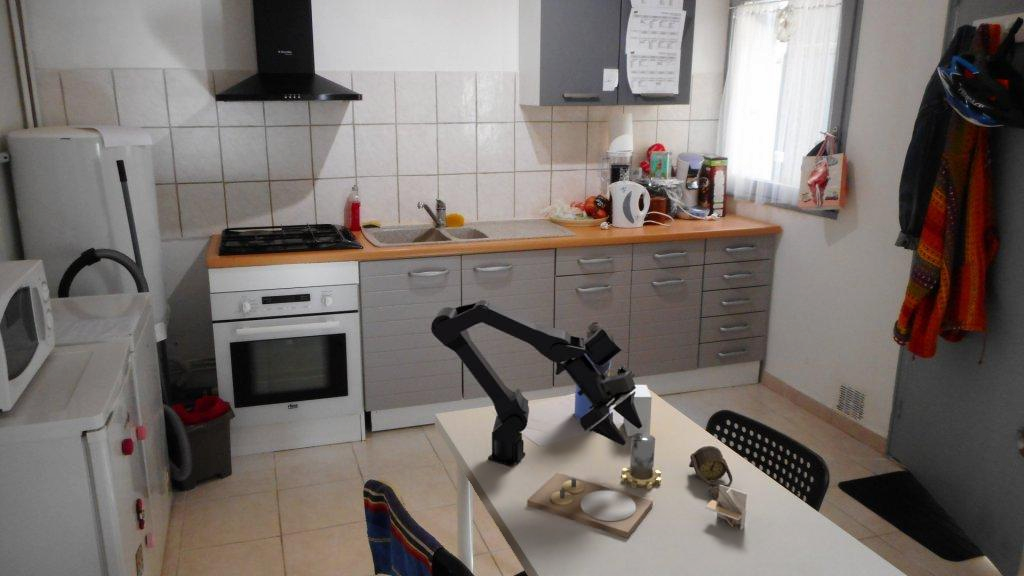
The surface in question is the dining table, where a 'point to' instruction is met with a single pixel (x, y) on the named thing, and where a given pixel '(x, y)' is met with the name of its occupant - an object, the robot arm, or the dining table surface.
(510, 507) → the dining table surface
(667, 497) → the dining table surface
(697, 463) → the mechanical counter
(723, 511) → the architectural model
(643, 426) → the small box
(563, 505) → the gear board
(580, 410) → the water bottle
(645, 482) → the loose gear
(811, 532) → the dining table surface
